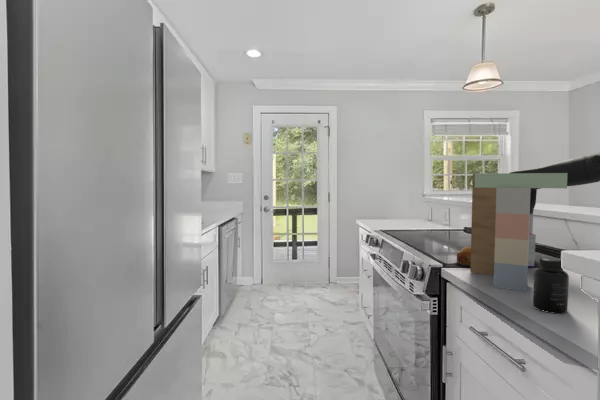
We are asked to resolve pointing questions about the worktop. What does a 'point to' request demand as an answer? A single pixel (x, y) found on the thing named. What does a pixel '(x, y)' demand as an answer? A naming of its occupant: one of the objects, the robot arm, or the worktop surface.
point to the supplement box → (531, 250)
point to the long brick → (521, 180)
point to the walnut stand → (483, 230)
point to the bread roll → (464, 256)
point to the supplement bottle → (551, 286)
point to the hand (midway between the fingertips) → (590, 158)
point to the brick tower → (512, 238)
